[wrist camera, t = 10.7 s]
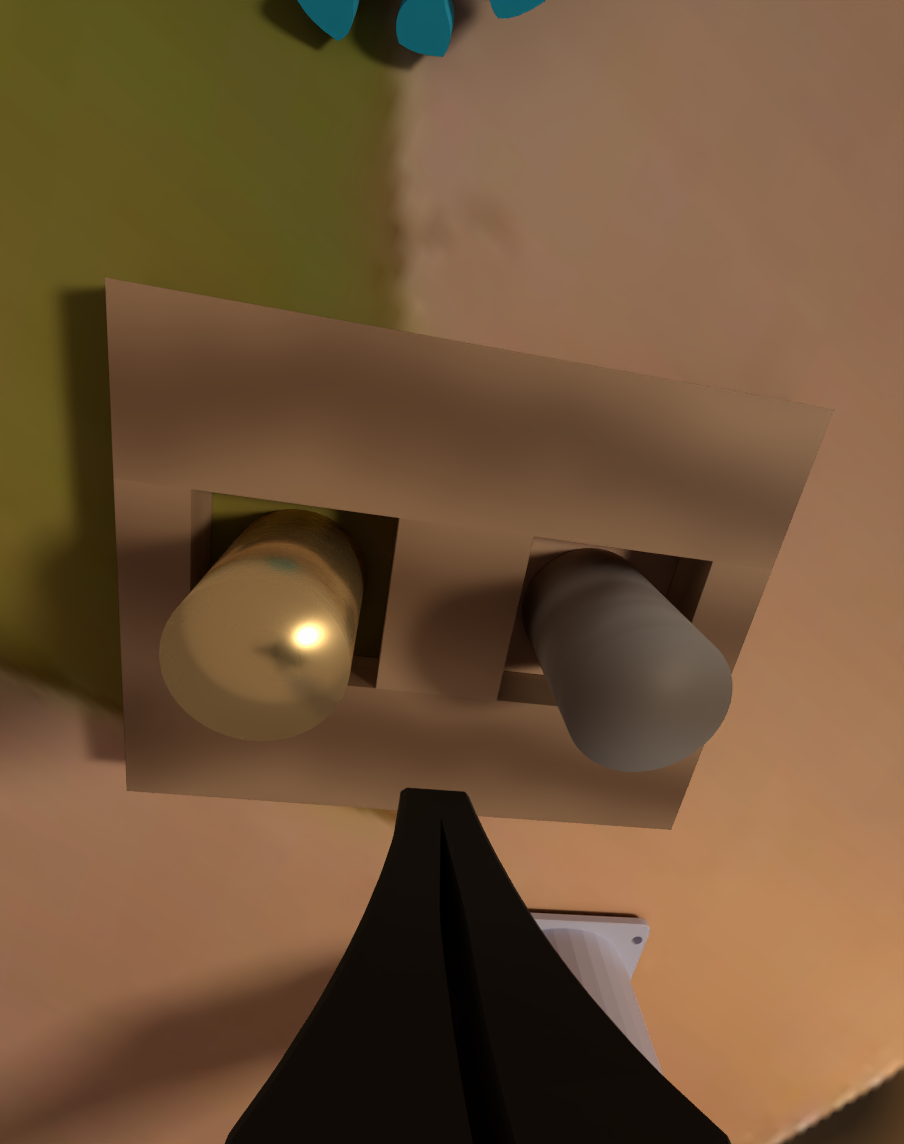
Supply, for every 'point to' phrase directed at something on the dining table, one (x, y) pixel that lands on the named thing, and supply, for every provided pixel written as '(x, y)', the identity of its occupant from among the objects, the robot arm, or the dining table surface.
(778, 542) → the walnut jig
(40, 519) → the dining table surface
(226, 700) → the brass sleeve
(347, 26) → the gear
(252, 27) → the dining table surface
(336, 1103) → the robot arm
